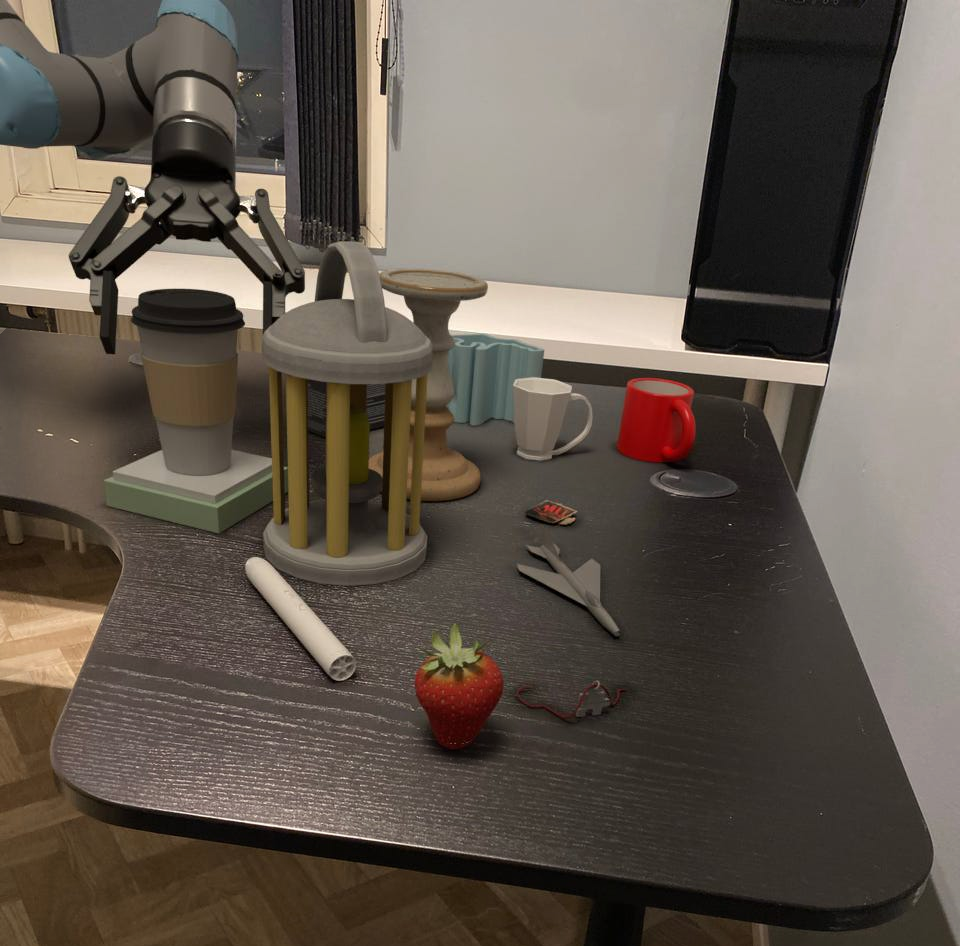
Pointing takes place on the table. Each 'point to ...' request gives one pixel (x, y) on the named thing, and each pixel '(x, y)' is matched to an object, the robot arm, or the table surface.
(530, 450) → the cup
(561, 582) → the toy airplane
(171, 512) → the scale
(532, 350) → the squiggly pen holder
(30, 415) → the table surface
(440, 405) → the candle holder
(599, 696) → the pendant
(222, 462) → the coffee cup
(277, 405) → the lantern
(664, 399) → the mug
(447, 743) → the fruit
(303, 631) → the white cylindrical rod
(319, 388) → the small box
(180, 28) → the robot arm
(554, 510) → the matchbox
